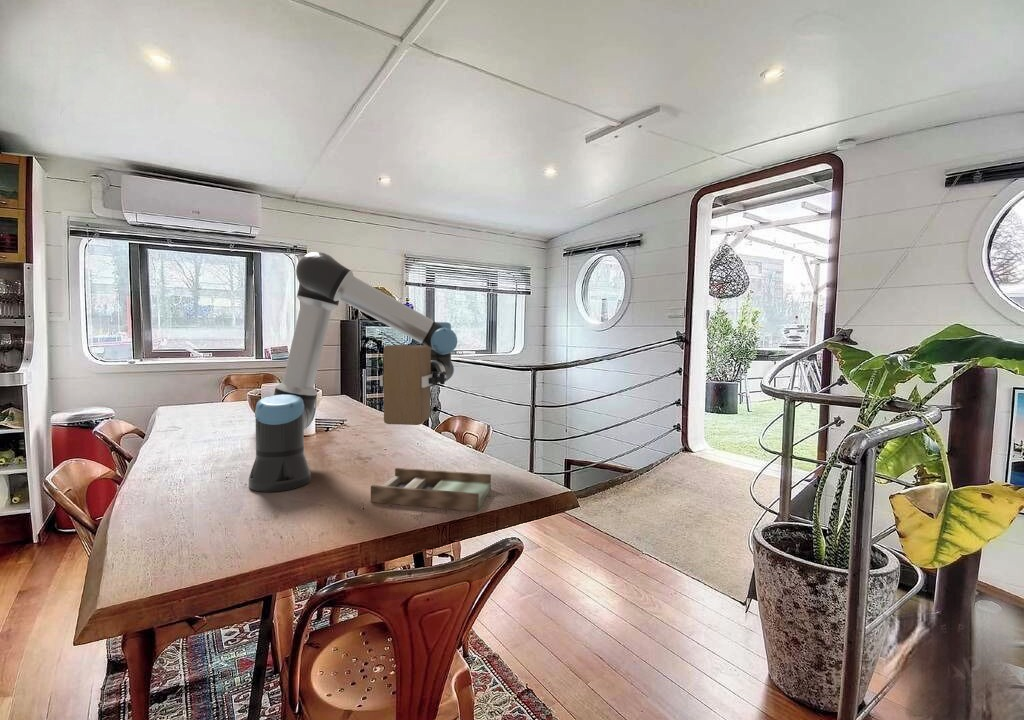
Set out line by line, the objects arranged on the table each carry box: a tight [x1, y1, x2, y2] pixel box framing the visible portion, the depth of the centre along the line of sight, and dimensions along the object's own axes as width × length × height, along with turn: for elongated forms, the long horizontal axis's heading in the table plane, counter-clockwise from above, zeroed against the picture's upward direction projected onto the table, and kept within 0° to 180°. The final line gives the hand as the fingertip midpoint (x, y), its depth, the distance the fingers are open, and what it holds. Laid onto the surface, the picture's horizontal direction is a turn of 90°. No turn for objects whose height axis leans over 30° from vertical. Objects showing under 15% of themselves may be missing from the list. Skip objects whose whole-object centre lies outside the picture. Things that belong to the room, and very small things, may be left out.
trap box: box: [370, 467, 492, 512], centre depth 119 cm, size 27×16×4 cm, turn 81°
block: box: [383, 344, 432, 426], centre depth 120 cm, size 10×10×20 cm
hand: (402, 381), depth 116 cm, fingers closed on block, 10 cm apart
